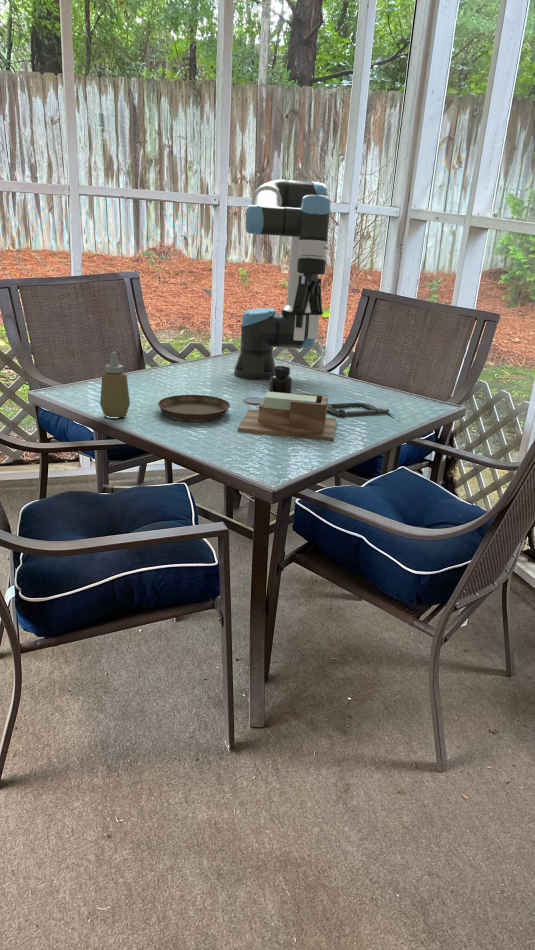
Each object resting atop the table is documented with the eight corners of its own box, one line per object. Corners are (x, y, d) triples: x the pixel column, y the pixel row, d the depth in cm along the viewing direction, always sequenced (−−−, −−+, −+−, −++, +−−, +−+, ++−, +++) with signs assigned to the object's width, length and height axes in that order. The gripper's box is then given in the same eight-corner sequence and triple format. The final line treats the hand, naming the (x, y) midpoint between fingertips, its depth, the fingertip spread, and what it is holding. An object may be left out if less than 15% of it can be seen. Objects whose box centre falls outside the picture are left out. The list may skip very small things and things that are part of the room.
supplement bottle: (288, 410, 201) (291, 371, 197) (266, 407, 202) (268, 368, 198) (291, 404, 207) (294, 366, 203) (270, 401, 208) (273, 363, 204)
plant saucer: (152, 405, 198) (152, 394, 197) (219, 402, 205) (220, 392, 203) (164, 426, 180) (164, 415, 179) (238, 423, 187) (238, 412, 185)
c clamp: (374, 405, 214) (376, 397, 213) (399, 422, 199) (400, 413, 198) (316, 407, 208) (317, 398, 207) (337, 424, 193) (338, 415, 192)
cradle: (248, 412, 196) (249, 384, 193) (336, 421, 194) (339, 392, 191) (237, 431, 180) (239, 400, 177) (333, 440, 177) (336, 410, 174)
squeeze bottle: (116, 422, 180) (115, 357, 173) (94, 416, 184) (91, 352, 177) (136, 415, 187) (135, 352, 180) (114, 410, 190) (112, 347, 183)
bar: (266, 401, 188) (267, 391, 187) (316, 406, 187) (317, 396, 186) (263, 407, 183) (264, 397, 182) (314, 412, 181) (315, 401, 180)
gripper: (312, 255, 164) (306, 342, 169) (336, 262, 187) (330, 338, 192) (283, 253, 166) (278, 340, 172) (311, 260, 189) (305, 336, 195)
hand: (305, 339), depth 182 cm, fingers open, 13 cm apart
